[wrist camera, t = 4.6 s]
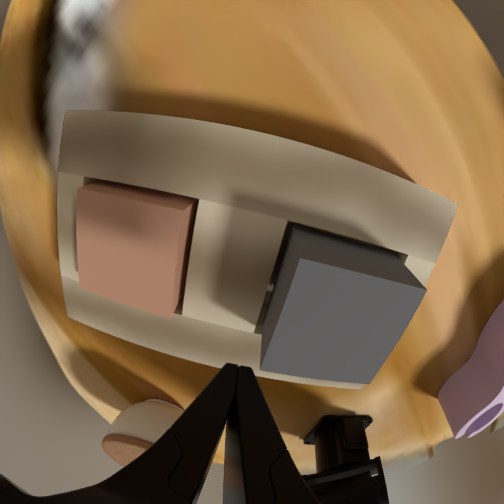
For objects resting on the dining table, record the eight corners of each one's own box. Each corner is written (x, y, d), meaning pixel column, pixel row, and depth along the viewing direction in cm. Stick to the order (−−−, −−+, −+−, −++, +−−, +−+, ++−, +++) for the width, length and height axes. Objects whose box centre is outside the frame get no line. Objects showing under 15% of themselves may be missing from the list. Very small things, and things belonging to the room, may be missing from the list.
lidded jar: (210, 441, 29) (198, 502, 20) (133, 422, 29) (111, 476, 20) (211, 398, 25) (194, 478, 16) (116, 374, 25) (81, 440, 16)
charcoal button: (353, 338, 16) (368, 384, 12) (262, 321, 16) (259, 370, 12) (394, 253, 14) (427, 289, 10) (292, 225, 14) (300, 258, 10)
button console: (349, 349, 21) (361, 389, 17) (96, 287, 20) (67, 316, 16) (420, 188, 16) (458, 204, 11) (106, 112, 15) (65, 110, 11)
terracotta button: (189, 282, 18) (170, 318, 14) (110, 260, 18) (79, 288, 14) (204, 193, 15) (183, 210, 12) (115, 176, 15) (77, 188, 12)
